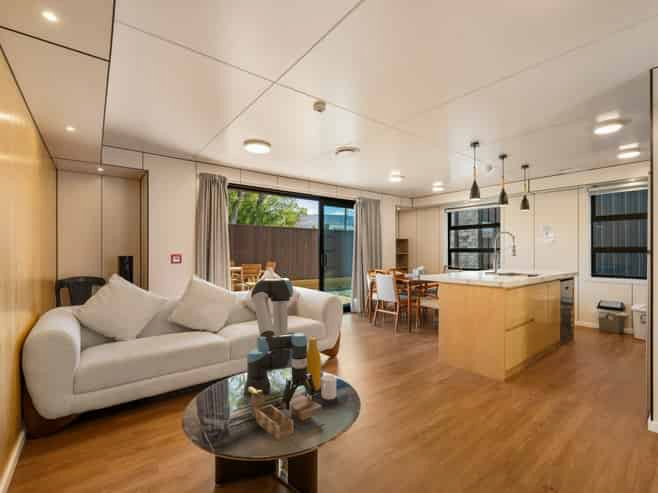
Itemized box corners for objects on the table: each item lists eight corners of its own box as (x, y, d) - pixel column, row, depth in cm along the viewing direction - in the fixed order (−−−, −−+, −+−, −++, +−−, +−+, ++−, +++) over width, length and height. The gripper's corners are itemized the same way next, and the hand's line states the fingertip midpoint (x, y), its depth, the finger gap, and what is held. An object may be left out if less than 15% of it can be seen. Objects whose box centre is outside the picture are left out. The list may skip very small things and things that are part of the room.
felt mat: (276, 412, 159) (276, 412, 159) (296, 405, 167) (296, 404, 167) (303, 433, 141) (303, 432, 141) (324, 423, 149) (324, 423, 149)
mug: (329, 404, 168) (329, 384, 168) (315, 401, 172) (315, 381, 172) (338, 394, 179) (338, 376, 179) (325, 392, 183) (325, 374, 183)
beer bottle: (302, 388, 188) (301, 339, 189) (312, 383, 196) (312, 335, 196) (314, 392, 183) (313, 341, 183) (324, 387, 190) (323, 338, 191)
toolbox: (248, 416, 156) (248, 393, 156) (263, 410, 161) (263, 388, 161) (277, 441, 135) (277, 414, 135) (293, 434, 140) (293, 408, 140)
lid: (278, 406, 158) (278, 397, 158) (297, 399, 165) (297, 391, 165) (302, 422, 142) (302, 413, 143) (321, 414, 149) (321, 405, 150)
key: (248, 390, 164) (248, 385, 164) (251, 389, 165) (251, 384, 165) (258, 397, 155) (258, 392, 155) (261, 396, 157) (261, 390, 157)
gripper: (282, 374, 144) (282, 423, 144) (323, 362, 159) (323, 407, 158) (274, 369, 150) (274, 417, 149) (314, 359, 165) (314, 402, 164)
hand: (299, 412), depth 154 cm, fingers closed on lid, 11 cm apart
